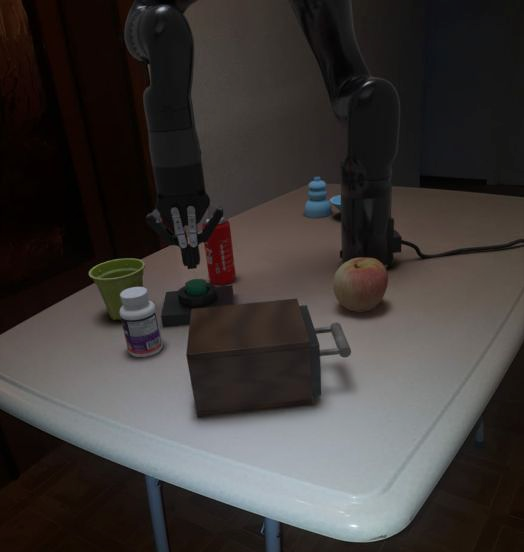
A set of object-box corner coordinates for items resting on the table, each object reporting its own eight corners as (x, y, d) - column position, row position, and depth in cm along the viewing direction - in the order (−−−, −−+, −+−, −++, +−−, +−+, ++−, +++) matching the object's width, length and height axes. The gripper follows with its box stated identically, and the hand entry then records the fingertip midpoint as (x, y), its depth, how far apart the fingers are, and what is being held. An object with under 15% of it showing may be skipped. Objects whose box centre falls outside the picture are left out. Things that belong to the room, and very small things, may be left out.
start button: (207, 287, 97) (206, 277, 96) (207, 295, 93) (205, 285, 93) (187, 289, 97) (185, 279, 96) (186, 297, 93) (184, 287, 93)
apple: (390, 297, 95) (391, 253, 91) (382, 321, 88) (383, 273, 84) (340, 294, 98) (339, 251, 94) (328, 317, 91) (327, 271, 87)
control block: (233, 296, 101) (231, 275, 99) (234, 320, 93) (232, 298, 91) (168, 302, 101) (164, 282, 99) (163, 327, 92) (158, 305, 90)
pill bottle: (130, 343, 88) (117, 286, 84) (164, 339, 89) (153, 282, 84) (126, 360, 84) (112, 301, 79) (162, 356, 84) (150, 297, 79)
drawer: (338, 347, 80) (337, 301, 76) (355, 391, 70) (354, 341, 66) (215, 360, 80) (208, 315, 76) (214, 406, 70) (206, 356, 66)
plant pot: (107, 331, 93) (95, 283, 89) (95, 311, 100) (83, 266, 96) (160, 316, 96) (151, 269, 92) (144, 298, 104) (135, 254, 100)
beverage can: (232, 285, 105) (225, 224, 100) (206, 285, 107) (197, 224, 101) (238, 275, 110) (232, 215, 104) (213, 275, 111) (205, 216, 105)
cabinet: (300, 355, 81) (297, 298, 76) (313, 405, 70) (310, 341, 65) (200, 365, 81) (191, 309, 76) (197, 417, 70) (186, 354, 65)
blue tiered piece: (380, 212, 138) (380, 175, 134) (361, 225, 131) (361, 186, 126) (316, 206, 147) (315, 171, 143) (296, 218, 140) (294, 181, 136)
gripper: (129, 168, 81) (150, 279, 89) (219, 160, 81) (232, 271, 90) (136, 159, 87) (155, 263, 96) (220, 151, 88) (231, 255, 96)
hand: (192, 267), depth 93 cm, fingers closed
